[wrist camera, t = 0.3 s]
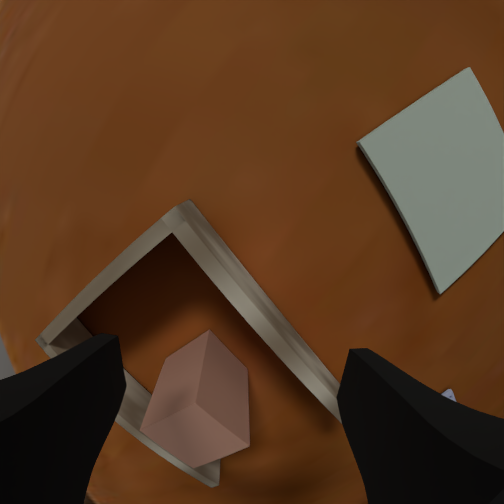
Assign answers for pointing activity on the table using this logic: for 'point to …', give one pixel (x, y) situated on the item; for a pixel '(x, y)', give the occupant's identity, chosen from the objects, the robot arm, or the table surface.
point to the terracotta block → (200, 403)
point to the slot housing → (235, 290)
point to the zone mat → (444, 174)
